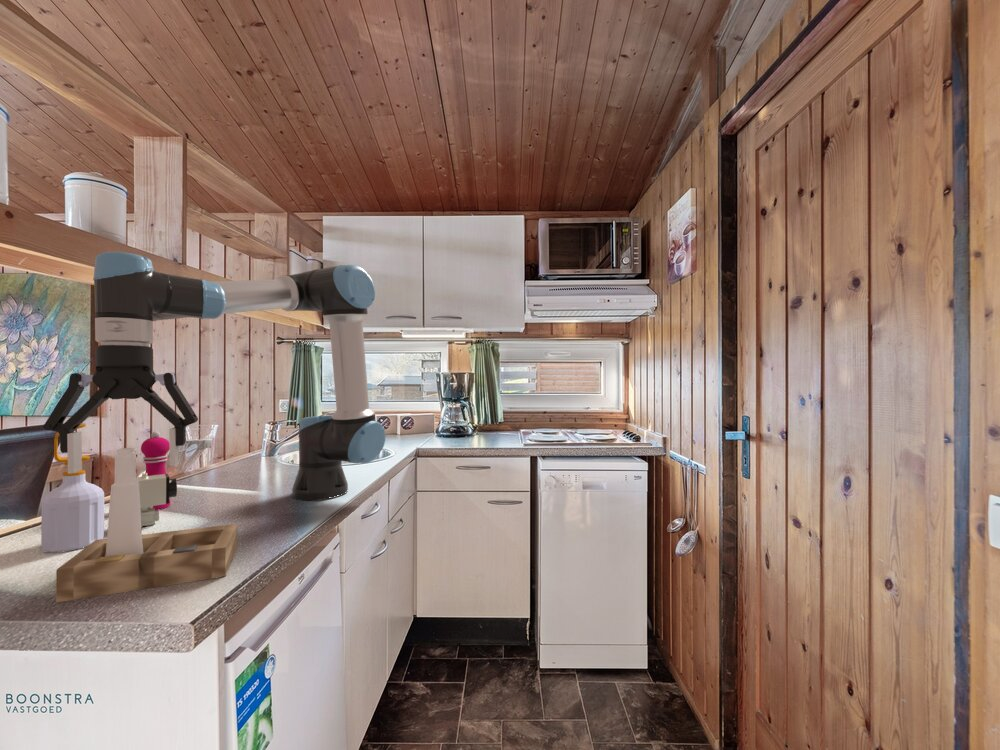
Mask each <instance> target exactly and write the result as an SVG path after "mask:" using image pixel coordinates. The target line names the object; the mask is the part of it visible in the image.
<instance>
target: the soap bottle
mask: <svg viewBox="0 0 1000 750" xmlns="http://www.w3.org/2000/svg"><path fill="white" fill-rule="evenodd" d="M85 427H87V424H86V423H84V422H83V423H82V424H80V425H79V426H78V427H77V428H76V430H78V429H81V428H85ZM54 435H55V436H54V438H53V439H54V442H53V445H54V446H53V447H54V448H53V449H54V451H53V453H54V455H53V458H54V460H55V461H57V462H59V463H64V466H68V456H64V457H63V456H62V457H61V456H60V455H59V453H58V452H59V451H58V447H59V445H58V440H59V437H60V434H59V433H58V432H56V433H55V434H54ZM90 459H91V456H90V455H89V454H86V455H85V454H84V455H82V465H83V464H84V462H85V461H87V460H90ZM40 521H41V522H40V523H41V526H40V527H41V531H40V533H41V538H40V539H41V542H40V543H41V544H40V548H41V550H42V551H43V552H44V553H45V552H46V553H51V552H53V553H64V552H63V551H66V552H71V551H70V550H72V551H75V549H77V550H81V549H84V548H83V547H85V548H86V547H87V546H88V545H90V544H91V543H92V542H94V541H95V540H99V539H104V537H105V492H104V490H103V488H101V487H99V486H98V485H97V484H94V483H90V482H88V481H87V479H86V470H85V469H82V470H80V471H78V472H76V473H71V474H68V471H64V472H63V473H62V483H61V484H60V486H57V487H56V488H54V489H52V490H51V491H50V492H48V493H47V494H45V495H44V496H43V498H42V500H41V520H40ZM80 548H81V549H80Z"/></svg>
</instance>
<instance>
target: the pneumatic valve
mask: <svg viewBox="0 0 1000 750" xmlns="http://www.w3.org/2000/svg"><path fill="white" fill-rule="evenodd" d="M136 481H138V482H139V492H140V509H141V510H140V511H141V528H144V527H143V526H146V527H150V526H149V525H151V526H154V525H156V522H157V521H159V520H160V511H159V510H155V508H153V506H156V505H162V504H169V499H170V500H172V498H175V497H177V493H178V482H177V481H178V480H177V478H176V477H175V478H171V477H170V475H169V473H166V474H161V475H153V476H147V473H144V472H143V473H141V476H136ZM109 489H110V493H111V487H110V488H109ZM110 493H109V494H110ZM148 507H150V508H148Z"/></svg>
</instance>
